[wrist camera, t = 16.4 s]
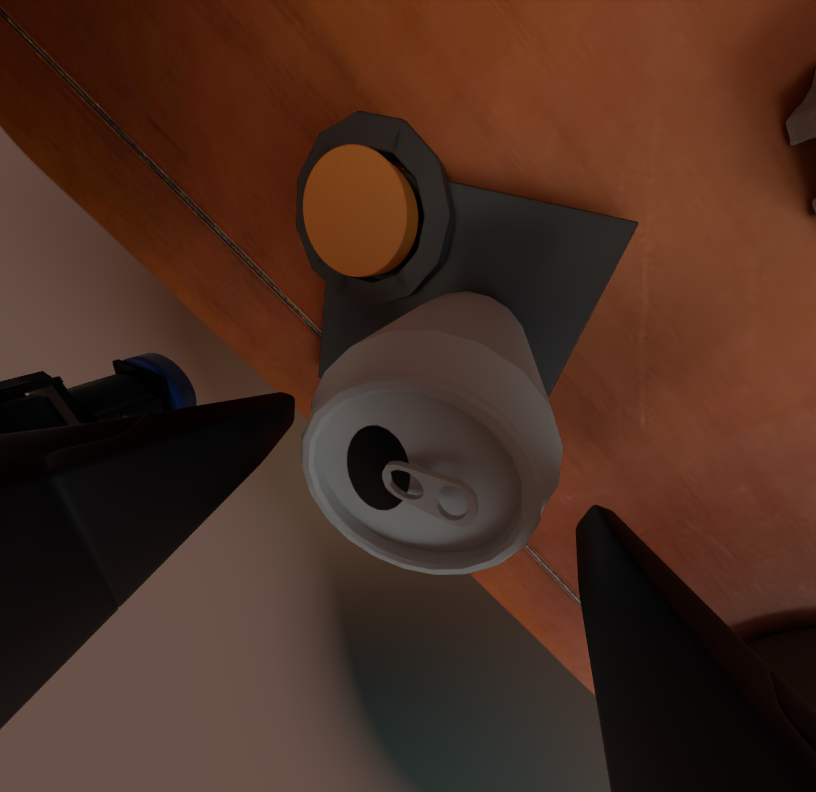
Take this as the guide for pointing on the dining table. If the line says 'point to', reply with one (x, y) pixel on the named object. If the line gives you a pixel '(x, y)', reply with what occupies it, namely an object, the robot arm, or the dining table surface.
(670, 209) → the dining table surface
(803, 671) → the vase
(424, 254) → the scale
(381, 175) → the button
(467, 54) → the dining table surface
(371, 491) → the can
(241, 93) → the dining table surface
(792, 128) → the egg carton
